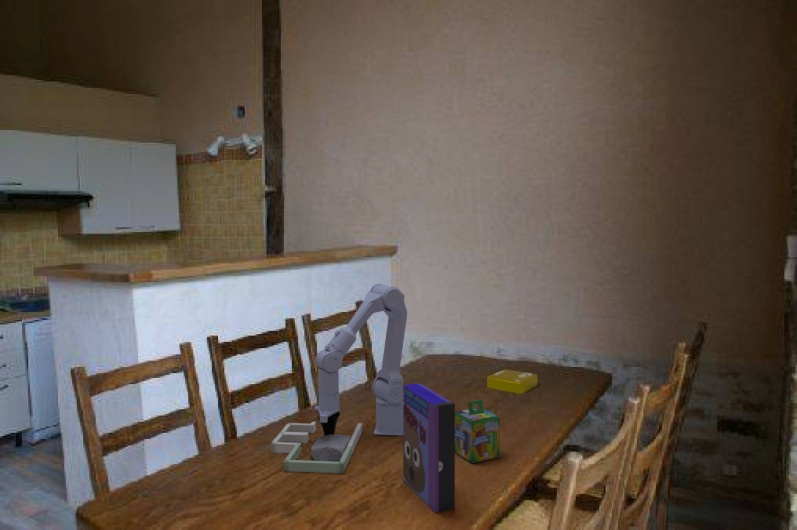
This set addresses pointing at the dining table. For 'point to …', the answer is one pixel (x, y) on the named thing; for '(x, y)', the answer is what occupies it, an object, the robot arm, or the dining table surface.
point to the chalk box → (477, 433)
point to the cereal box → (429, 446)
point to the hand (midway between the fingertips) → (329, 438)
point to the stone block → (330, 447)
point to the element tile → (512, 381)
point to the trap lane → (299, 434)
